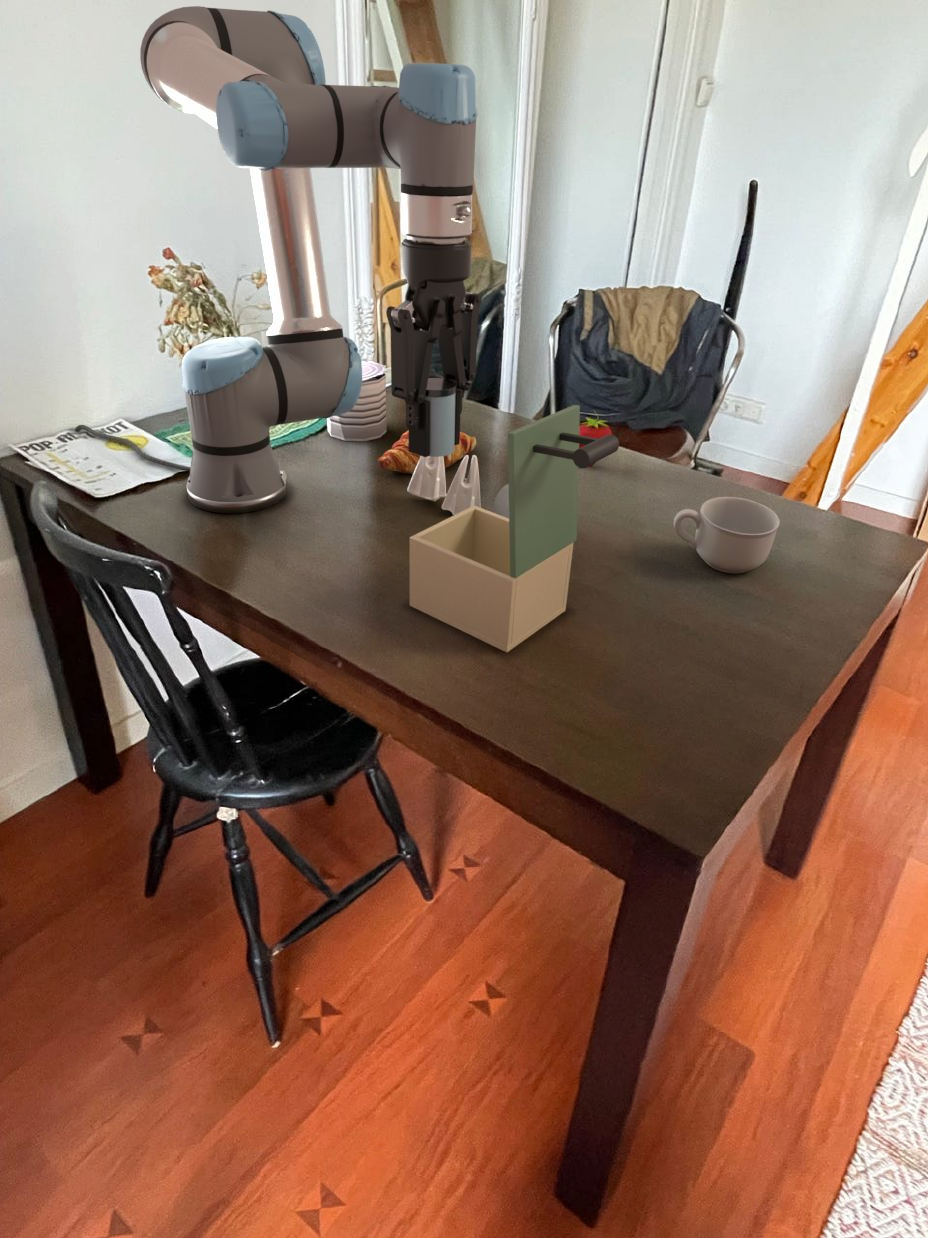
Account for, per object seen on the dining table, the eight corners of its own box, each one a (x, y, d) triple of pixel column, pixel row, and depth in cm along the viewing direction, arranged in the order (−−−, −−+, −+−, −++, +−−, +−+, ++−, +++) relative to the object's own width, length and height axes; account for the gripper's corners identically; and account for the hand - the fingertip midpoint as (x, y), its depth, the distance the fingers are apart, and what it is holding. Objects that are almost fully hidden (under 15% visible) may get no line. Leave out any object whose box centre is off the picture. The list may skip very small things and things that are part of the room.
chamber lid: (507, 432, 84) (571, 444, 80) (574, 404, 93) (636, 413, 88) (509, 576, 92) (568, 595, 88) (571, 538, 101) (628, 553, 96)
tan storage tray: (409, 605, 106) (409, 537, 100) (471, 570, 114) (474, 505, 109) (506, 652, 98) (512, 581, 92) (565, 610, 106) (573, 542, 101)
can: (384, 442, 153) (383, 378, 147) (323, 440, 153) (319, 376, 146) (388, 421, 163) (387, 360, 156) (330, 419, 162) (327, 358, 156)
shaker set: (405, 501, 132) (405, 435, 126) (421, 492, 135) (421, 427, 129) (468, 521, 127) (471, 453, 121) (482, 512, 130) (486, 445, 124)
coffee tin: (406, 451, 99) (405, 385, 95) (427, 439, 103) (428, 375, 99) (441, 460, 97) (442, 392, 93) (462, 447, 101) (464, 382, 97)
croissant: (463, 462, 155) (451, 420, 154) (497, 453, 147) (485, 408, 146) (371, 488, 143) (358, 442, 141) (403, 479, 135) (389, 430, 133)
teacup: (768, 553, 121) (781, 503, 117) (765, 588, 113) (779, 536, 108) (672, 536, 125) (682, 487, 121) (662, 569, 116) (672, 517, 112)
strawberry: (562, 465, 147) (568, 410, 142) (591, 456, 151) (598, 402, 146) (586, 476, 143) (593, 420, 138) (615, 466, 147) (623, 412, 142)
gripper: (405, 250, 80) (406, 476, 92) (514, 234, 92) (503, 436, 104) (350, 241, 84) (359, 459, 96) (463, 227, 96) (457, 422, 108)
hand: (434, 447), depth 100 cm, fingers closed on coffee tin, 5 cm apart
